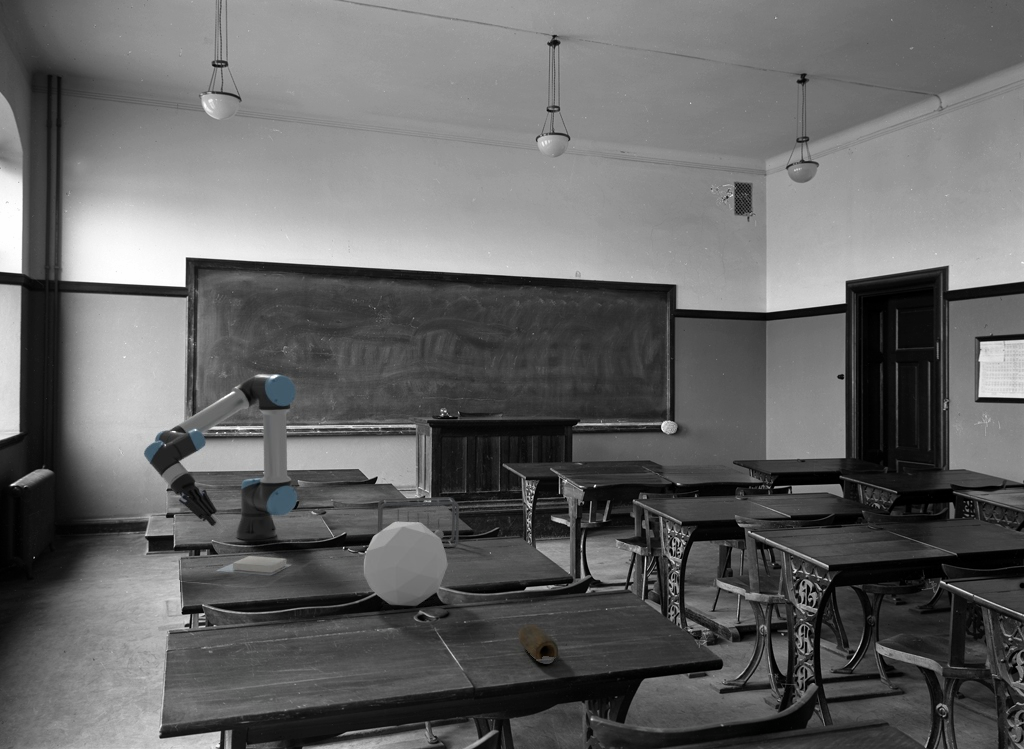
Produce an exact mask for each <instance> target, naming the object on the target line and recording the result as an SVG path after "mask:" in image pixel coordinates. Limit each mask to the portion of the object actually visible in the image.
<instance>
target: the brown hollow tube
mask: <svg viewBox="0 0 1024 749" xmlns="http://www.w3.org/2000/svg"><path fill="white" fill-rule="evenodd" d="M518 641H519V643H520V645H521V644H522V645H523V646H524V648H525V649H526V650H527V651H528V652H529V653H530V654H531V655H532V656H533V657H535V658H536V659H542V657H543V656H549V657H554V658H555V657H558V655H559V654H558V653H559V647H558V644H557V643H556V641H554V640H553V638H551V637H550V636H549V635H548V634H547V633H546V632H544V630H542V629H541V628H540V627H539V626H538V625H535V624H526V625H524V626H522V627H521V628H520V629H519V633H518ZM522 645H521V646H522ZM523 646H522V647H523ZM524 648H523V649H524ZM525 649H524V650H525ZM526 650H525V651H526ZM527 651H526V652H527Z"/></svg>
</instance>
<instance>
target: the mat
mask: <svg viewBox="0 0 1024 749" xmlns="http://www.w3.org/2000/svg"><path fill="white" fill-rule="evenodd" d="M291 566H292V564H287V563H286V566H285V567H283V568H281V569H279V570H277V571H275V572H273V573H261V572H249V571H237V570H233V563H231V564H228V565H226V566H223V567H221V568H218V569H217V570H215V572H221V573H223V572H225V573H236V574H246V575H247V574H250V575H260V576H261V575H262V576H270V577H271V576H273V575H275V574H277V573H279V572H281V571H282V570H285V569H287V568H289V567H291Z"/></svg>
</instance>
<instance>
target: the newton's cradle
mask: <svg viewBox="0 0 1024 749" xmlns="http://www.w3.org/2000/svg"><path fill="white" fill-rule="evenodd" d="M377 503H378V504H377V534H378V533H379V532H381V531H382V530H383V517H384V516H383V514H384V512H383V509H384V508H385V507H390V506H391V507H395V506H396V507H400V506H401V507H403V506H427V507H429V506H433V505H434V506H442V505H443V506H444V505H449V506H451V505H452V506H451V537H450V539H443V538H444V536H445V534H444V532H443V531H442V530H441V529H440V520H437V527H438V528H437V529H436V530H435V531H434V532H433V533H434V534H435V535H437V536H438V537H439V538H440V539H441V541H442V542H445V543H449V544H443V547H454V548H456V547H457V546H458V544H459V537H460V536H459V529H460V527H459V524H460V519H459V518H460V505H459V503H457V502H456V500H455V499H454V498H453V497H449V496H448V497H447V496H446V497H445V496H443V497H441V496H440V497H405V498H401V497H400V498H397V497H396V498H395V497H394V498H382V499H380V500H379V501H378V502H377ZM399 511H400V510H397V522H400V520H399V519H400V516H399V515H400V512H399ZM419 517H420V514H417V522H420V521H419V519H420V518H419ZM429 517H430V514H427V526H429V525H430V524H429ZM407 522H410V512H407ZM453 541H455V542H454V544H452V542H453Z"/></svg>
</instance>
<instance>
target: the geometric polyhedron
mask: <svg viewBox="0 0 1024 749" xmlns="http://www.w3.org/2000/svg"><path fill="white" fill-rule="evenodd" d="M441 540H442V539H440V538H439V537H438V536H437V535H435V534H434V532H433V531H431V529H429V527H428V526H426V525H424V524H423V523H422V522H420V521H419V522H418V521H416V522H413V521H409V522H408V521H399V522H398V521H397V522H395V521H393V522H392V523H391V524H390V525H388V526H386V527H385V528H382V531H381V532H379V533H378V532H377V533H376V534H375V535H374V536H373V537H372V539H371V540H370V543H369V545H368V547H367V550H366V551H365V552H366V553H365V556H364V559H363V577H364V578H365V581H366V582H367V584H368V587H369V588H370V589H371V590H372V591H373V593H375V594H376V595H377V596H378V597H380V599H382V600H383V601H385V602H386V603H387V604H389V605H391V606H410V607H411V606H412V607H417V606H418V605H419V604H421V603H422V602H424V601H425V600H427V599H429V598H430V597H431V596H433V595H434V594H436V593H437V592H438V591H439V590H440V587H441V584H442V582H443V580H444V576H445V573H446V571H447V568H448V566H449V565H448V560H447V559H448V558H447V554H446V550H445V548H444V547H443V545H444V543H442V541H441Z"/></svg>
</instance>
